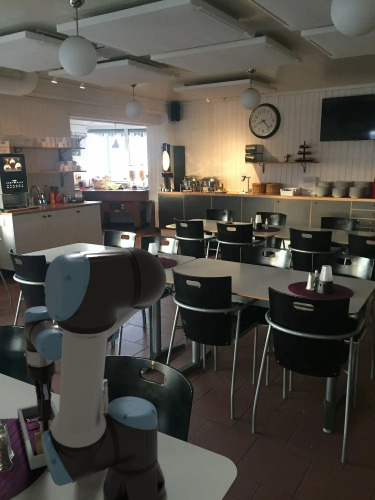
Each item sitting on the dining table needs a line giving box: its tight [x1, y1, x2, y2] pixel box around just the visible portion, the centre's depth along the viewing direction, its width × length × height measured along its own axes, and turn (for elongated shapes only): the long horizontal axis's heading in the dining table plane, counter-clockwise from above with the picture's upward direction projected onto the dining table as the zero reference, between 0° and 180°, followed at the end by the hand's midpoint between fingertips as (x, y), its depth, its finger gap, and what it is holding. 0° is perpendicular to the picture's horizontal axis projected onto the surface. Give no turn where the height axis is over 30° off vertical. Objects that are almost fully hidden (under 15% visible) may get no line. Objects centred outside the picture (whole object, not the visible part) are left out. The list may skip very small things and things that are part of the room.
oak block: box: [34, 428, 51, 455], centre depth 120 cm, size 6×6×5 cm
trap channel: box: [17, 400, 59, 471], centre depth 127 cm, size 28×11×3 cm, turn 28°
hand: (45, 438), depth 123 cm, fingers closed
